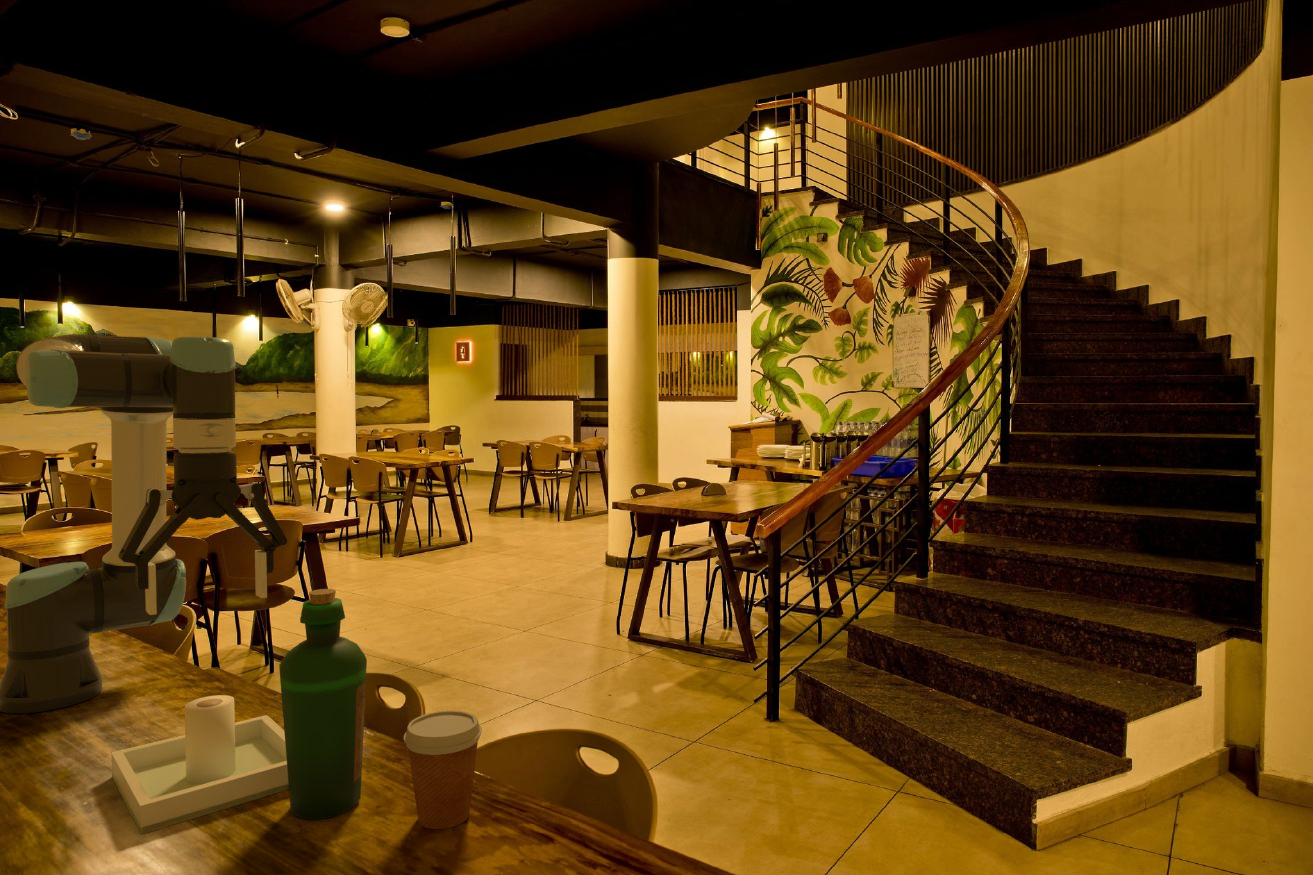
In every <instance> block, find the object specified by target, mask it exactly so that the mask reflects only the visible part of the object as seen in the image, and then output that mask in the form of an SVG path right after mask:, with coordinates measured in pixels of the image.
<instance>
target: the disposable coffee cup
mask: <svg viewBox="0 0 1313 875" xmlns="http://www.w3.org/2000/svg"><path fill="white" fill-rule="evenodd" d="M482 731H483V729H482V726H481V725H480V724H479V719H478V718H477V716H476V715H475V714H473V713H471V712H469V711H463V710H440V711H439V710H438V711H433V712H429V713H425V714H422V715H420V716H418V717H417V716H416V718H415V717H414V719H412V720H411V721H409V723H408V725H407V728H406V731H405V733H404V735H403V742H404V743H405V746H406V748H407V752H408V758H409V765H410V766H409V767H410V772H411V780H412V785H413V793H414V799H415V808H416V814H417V822H418V824H419V825H420V826H422V827H423V828H425V829H431V830H443V829H450V828H454V827H457V826H458V825H461V824H463V823H464V822H465V821H466V820H467V819H468V818H469V817H470V814H471V813H470V812H471V811H470V810H471V803H472V794H473V786H474V777H475V770H476V768H475V767H476V758H477V753H478V752H477V750H478V744H479V743H478V742H479V741H480V737H481V734H482Z"/></svg>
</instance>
